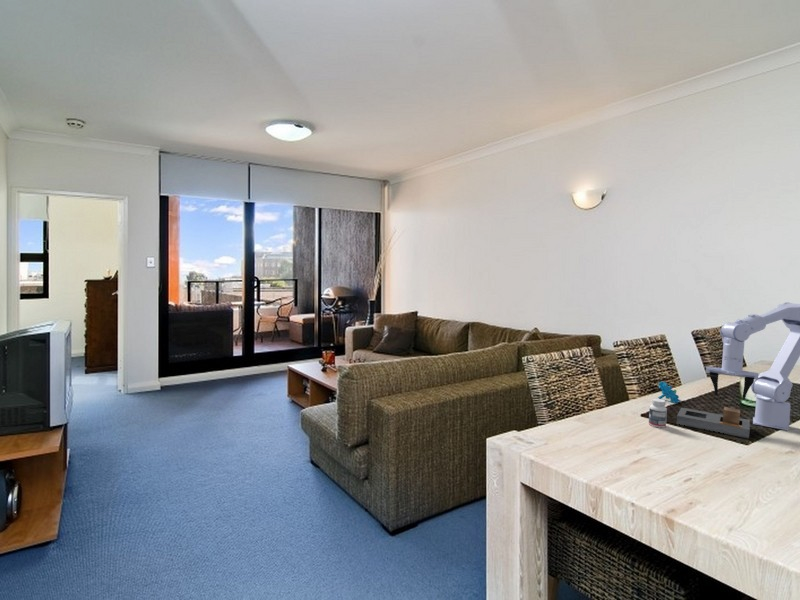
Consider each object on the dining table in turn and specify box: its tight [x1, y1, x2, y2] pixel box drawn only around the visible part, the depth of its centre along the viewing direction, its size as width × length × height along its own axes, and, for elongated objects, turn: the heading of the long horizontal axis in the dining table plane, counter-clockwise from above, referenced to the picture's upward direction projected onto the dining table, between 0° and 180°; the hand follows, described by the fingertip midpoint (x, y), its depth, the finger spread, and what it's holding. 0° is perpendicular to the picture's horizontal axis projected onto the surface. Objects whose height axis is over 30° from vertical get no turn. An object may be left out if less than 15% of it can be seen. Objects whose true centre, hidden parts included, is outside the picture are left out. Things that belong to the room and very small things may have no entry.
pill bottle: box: [648, 398, 668, 429], centre depth 154 cm, size 5×5×9 cm
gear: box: [657, 380, 681, 404], centre depth 185 cm, size 11×6×10 cm
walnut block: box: [722, 406, 741, 425], centre depth 151 cm, size 4×4×7 cm
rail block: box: [676, 407, 751, 439], centre depth 155 cm, size 20×12×3 cm, turn 52°
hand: (729, 396), depth 155 cm, fingers open, 7 cm apart
